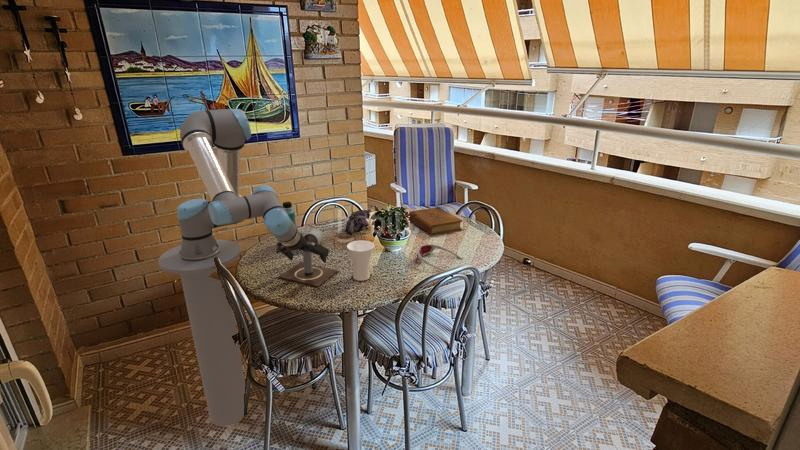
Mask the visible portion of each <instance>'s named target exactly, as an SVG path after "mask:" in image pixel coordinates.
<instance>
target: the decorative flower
mask: <svg viewBox="0 0 800 450" xmlns="http://www.w3.org/2000/svg"><path fill="white" fill-rule="evenodd" d="M371 213H372V211H371V210H368V209H360V210H356V211H353V212H352V213H351V214H350V216H349V218H348V220H347V222H346V224H345V231H346V232H347V233H348V234H349V235H353V234H354V230H355V231H356V233H360V232H361V231H362V229H363V228H365V229H366V230H369V225H370V224H369V222H368V220H370V219H371V218H370V217H371Z"/></svg>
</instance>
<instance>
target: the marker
mask: <svg viewBox="0 0 800 450" xmlns="http://www.w3.org/2000/svg"><path fill="white" fill-rule="evenodd" d="M305 249H306V248H305ZM312 256H313V255H312V253H311V252H309V251H308V252H305V251H302V259H303V263H304V271H305V275H311V274H313V267H312V265H313V258H312Z"/></svg>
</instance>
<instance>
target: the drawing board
mask: <svg viewBox="0 0 800 450" xmlns="http://www.w3.org/2000/svg"><path fill="white" fill-rule="evenodd" d="M312 267H313V274H311V275H305V271H304V262H299V263H298V264H296V265H295V266H293V267H292V268H290V269H289V270H287V271H285V272H284V273H282V274H281V275H279V276H278V278H279V279H283V280H285V281H290V282H295V283H299V284H302V285H306V286H310V287H314V288H319V287H320V286H321V285H323V284H324V283H326V281H328V280H329V279H330V278H332V277H333V276H334V275H335V274H337V273H338V271H339V270H337V269H332V268H328V267H324V266H319V265H314V264H312Z"/></svg>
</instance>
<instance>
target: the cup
mask: <svg viewBox="0 0 800 450" xmlns="http://www.w3.org/2000/svg"><path fill="white" fill-rule="evenodd" d="M346 248H347V251H348V254H349V256H350V259H351V262H352V268H353V277H352V278H353V279H354V280H355V281H359V282H362V281H368V280H369V279H370V278H371V275H370V264H371V258H372V255H373V252H374V249H375V243H374V242H373V241H370V240H363V239H362V240H359V239H358V240H353V241H350V242H349V243H347V245H346Z"/></svg>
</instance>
